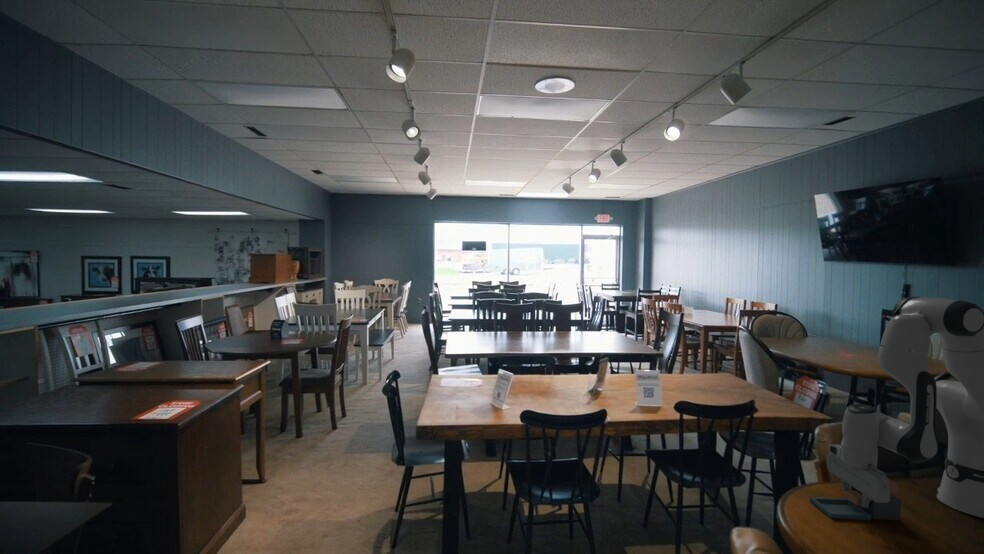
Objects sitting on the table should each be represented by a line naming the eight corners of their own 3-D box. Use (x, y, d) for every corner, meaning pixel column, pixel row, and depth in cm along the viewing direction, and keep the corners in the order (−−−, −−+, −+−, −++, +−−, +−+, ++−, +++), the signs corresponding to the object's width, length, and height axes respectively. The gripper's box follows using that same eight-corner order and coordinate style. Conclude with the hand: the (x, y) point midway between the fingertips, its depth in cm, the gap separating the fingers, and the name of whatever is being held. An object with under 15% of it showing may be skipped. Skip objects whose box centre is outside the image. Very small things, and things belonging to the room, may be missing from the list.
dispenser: (874, 503, 142) (877, 469, 142) (899, 520, 133) (902, 483, 133) (849, 502, 142) (852, 468, 142) (872, 519, 133) (875, 482, 133)
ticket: (872, 497, 140) (873, 491, 140) (886, 506, 135) (887, 500, 135) (844, 496, 140) (844, 490, 140) (856, 505, 135) (857, 499, 135)
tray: (847, 503, 142) (848, 498, 142) (871, 520, 133) (871, 515, 133) (809, 501, 142) (810, 497, 142) (830, 518, 133) (831, 513, 133)
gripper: (898, 474, 127) (895, 521, 127) (843, 443, 147) (840, 483, 148) (876, 473, 127) (872, 520, 128) (824, 443, 147) (821, 483, 148)
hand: (855, 500), depth 138 cm, fingers closed on ticket, 5 cm apart
